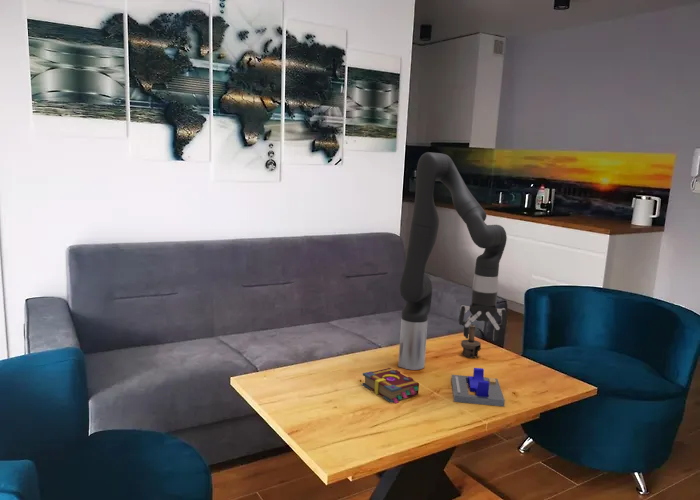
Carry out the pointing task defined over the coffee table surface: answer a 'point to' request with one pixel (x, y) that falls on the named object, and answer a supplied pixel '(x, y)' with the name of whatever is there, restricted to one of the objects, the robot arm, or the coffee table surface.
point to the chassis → (463, 395)
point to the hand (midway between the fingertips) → (480, 339)
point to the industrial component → (471, 344)
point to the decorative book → (391, 384)
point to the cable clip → (478, 383)
